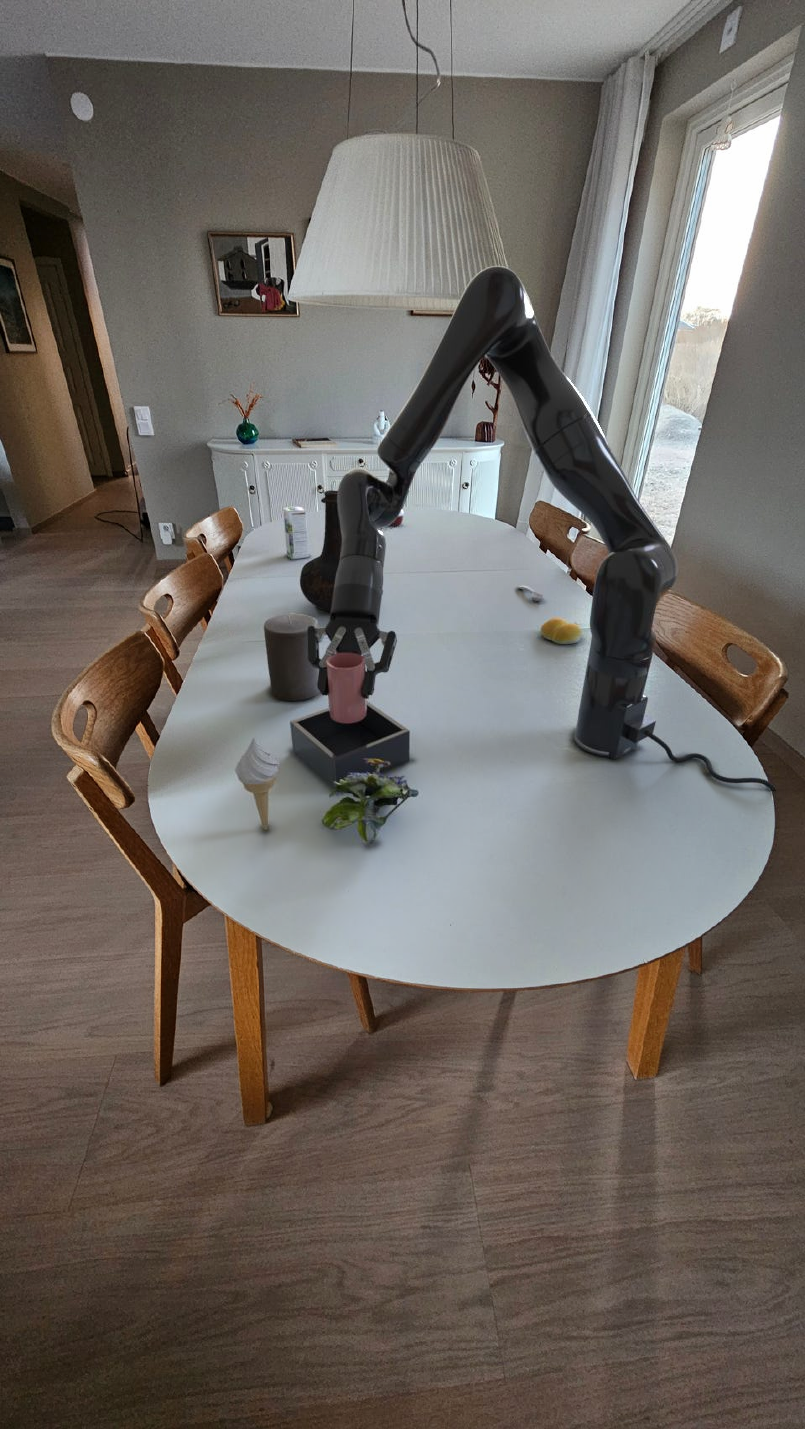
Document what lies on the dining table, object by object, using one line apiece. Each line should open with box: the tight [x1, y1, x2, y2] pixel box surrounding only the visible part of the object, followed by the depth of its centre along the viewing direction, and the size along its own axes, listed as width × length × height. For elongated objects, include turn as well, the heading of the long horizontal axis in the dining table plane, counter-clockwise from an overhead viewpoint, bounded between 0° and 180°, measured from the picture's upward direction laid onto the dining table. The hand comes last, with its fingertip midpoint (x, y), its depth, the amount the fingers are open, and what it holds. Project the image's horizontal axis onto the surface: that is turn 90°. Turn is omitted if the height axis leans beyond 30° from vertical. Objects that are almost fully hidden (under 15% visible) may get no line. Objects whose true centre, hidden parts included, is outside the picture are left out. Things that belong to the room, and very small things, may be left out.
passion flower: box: [321, 758, 420, 845], centre depth 84 cm, size 11×11×12 cm
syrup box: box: [282, 506, 310, 560], centre depth 191 cm, size 6×6×14 cm
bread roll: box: [540, 617, 583, 645], centre depth 140 cm, size 8×9×4 cm
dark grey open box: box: [289, 700, 411, 790], centre depth 99 cm, size 14×14×6 cm
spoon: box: [517, 585, 545, 602], centre depth 164 cm, size 3×12×2 cm, turn 16°
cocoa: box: [389, 490, 410, 527], centre depth 225 cm, size 10×6×12 cm, turn 91°
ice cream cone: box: [234, 737, 280, 831], centre depth 81 cm, size 6×6×15 cm
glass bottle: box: [299, 489, 342, 612], centre depth 151 cm, size 18×18×28 cm
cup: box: [326, 652, 367, 723], centre depth 94 cm, size 6×6×9 cm
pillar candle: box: [263, 612, 321, 702], centre depth 116 cm, size 10×10×15 cm
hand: (344, 695), depth 93 cm, fingers closed on cup, 5 cm apart
